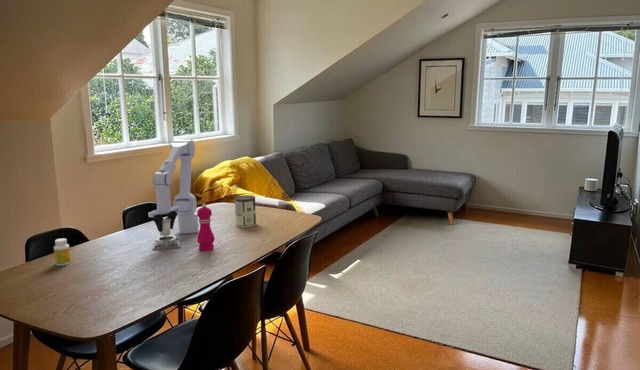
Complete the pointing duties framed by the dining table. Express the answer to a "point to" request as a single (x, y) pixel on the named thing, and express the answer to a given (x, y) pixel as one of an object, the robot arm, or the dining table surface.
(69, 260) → the supplement bottle
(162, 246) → the flange
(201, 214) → the pepper mill
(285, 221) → the dining table surface
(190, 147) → the robot arm
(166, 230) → the white knob
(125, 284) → the dining table surface
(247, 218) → the coffee can
